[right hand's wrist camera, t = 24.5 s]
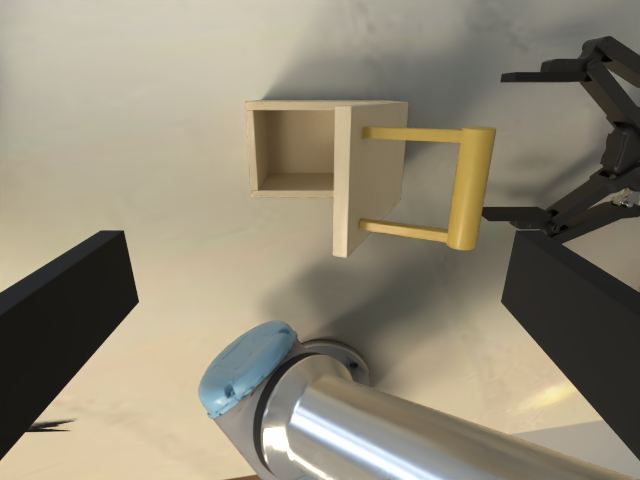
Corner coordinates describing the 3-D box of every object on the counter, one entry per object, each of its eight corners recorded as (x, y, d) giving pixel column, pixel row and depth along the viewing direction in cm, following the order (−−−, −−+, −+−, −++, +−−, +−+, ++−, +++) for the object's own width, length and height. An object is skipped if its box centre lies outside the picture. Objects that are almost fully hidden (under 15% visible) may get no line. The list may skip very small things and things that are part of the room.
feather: (-65, 429, 66) (-77, 433, 64) (80, 419, 64) (72, 422, 62) (-65, 439, 66) (-78, 444, 64) (80, 429, 64) (72, 433, 62)
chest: (264, 178, 48) (251, 197, 39) (260, 100, 44) (244, 101, 35) (380, 178, 48) (394, 197, 39) (385, 100, 44) (402, 101, 35)
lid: (332, 255, 25) (470, 281, 21) (334, 106, 21) (500, 108, 18) (390, 198, 38) (480, 208, 35) (398, 101, 35) (499, 102, 31)
